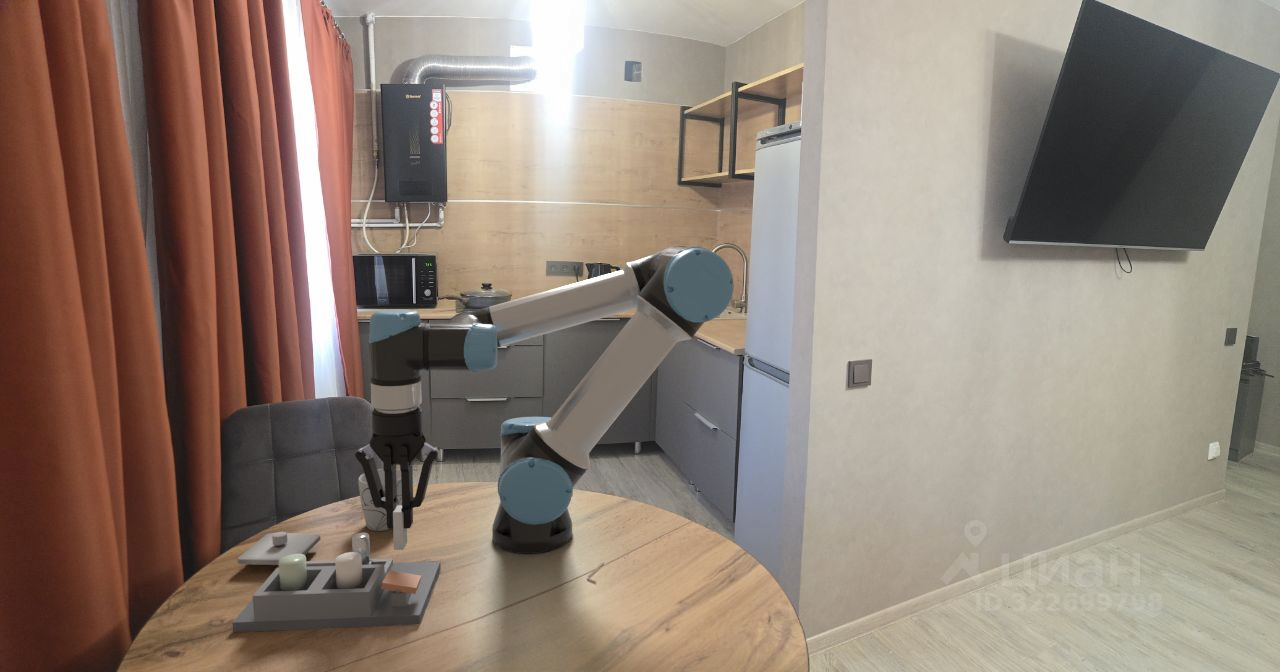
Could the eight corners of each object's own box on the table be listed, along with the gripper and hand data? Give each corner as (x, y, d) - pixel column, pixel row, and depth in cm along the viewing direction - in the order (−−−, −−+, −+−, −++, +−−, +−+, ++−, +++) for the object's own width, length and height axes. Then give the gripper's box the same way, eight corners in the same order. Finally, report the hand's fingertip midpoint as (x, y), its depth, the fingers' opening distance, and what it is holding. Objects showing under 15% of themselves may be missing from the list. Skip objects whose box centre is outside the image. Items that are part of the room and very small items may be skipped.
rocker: (420, 582, 102) (421, 575, 102) (414, 596, 98) (416, 588, 98) (387, 577, 101) (388, 570, 101) (380, 591, 97) (382, 583, 97)
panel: (440, 569, 112) (439, 539, 112) (419, 624, 97) (418, 589, 96) (281, 574, 110) (279, 543, 109) (233, 632, 94) (230, 596, 93)
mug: (382, 507, 137) (381, 461, 135) (421, 510, 136) (419, 464, 134) (351, 532, 126) (349, 482, 124) (393, 535, 124) (391, 485, 123)
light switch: (295, 575, 110) (293, 547, 109) (236, 574, 109) (234, 546, 109) (322, 547, 119) (321, 521, 118) (268, 547, 119) (266, 520, 118)
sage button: (311, 577, 100) (309, 553, 99) (301, 590, 96) (300, 565, 96) (286, 578, 99) (284, 554, 99) (276, 591, 96) (274, 566, 95)
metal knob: (373, 567, 109) (371, 532, 108) (368, 575, 107) (366, 539, 106) (355, 567, 109) (354, 532, 108) (350, 576, 106) (348, 540, 105)
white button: (365, 576, 101) (364, 551, 100) (358, 588, 97) (357, 563, 97) (341, 576, 100) (340, 552, 100) (333, 589, 97) (331, 564, 96)
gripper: (443, 401, 109) (445, 534, 112) (361, 401, 107) (366, 536, 111) (434, 413, 101) (436, 556, 105) (346, 413, 100) (352, 558, 104)
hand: (400, 545), depth 108 cm, fingers closed
